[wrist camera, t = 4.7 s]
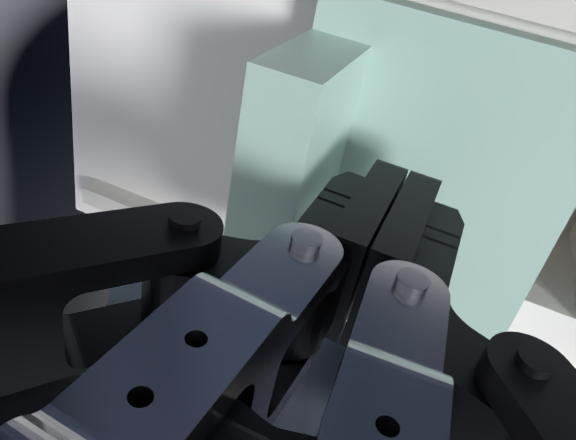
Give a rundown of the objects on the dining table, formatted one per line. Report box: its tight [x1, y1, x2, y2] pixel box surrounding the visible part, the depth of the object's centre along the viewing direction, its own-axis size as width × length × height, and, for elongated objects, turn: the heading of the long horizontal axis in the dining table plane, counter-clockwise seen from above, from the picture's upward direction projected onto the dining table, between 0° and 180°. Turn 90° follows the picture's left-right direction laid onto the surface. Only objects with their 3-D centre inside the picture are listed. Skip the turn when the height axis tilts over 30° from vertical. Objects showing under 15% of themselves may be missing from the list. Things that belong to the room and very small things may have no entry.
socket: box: [67, 0, 576, 369], centre depth 17 cm, size 20×12×7 cm, turn 79°
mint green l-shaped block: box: [224, 0, 576, 340], centre depth 13 cm, size 7×8×4 cm
